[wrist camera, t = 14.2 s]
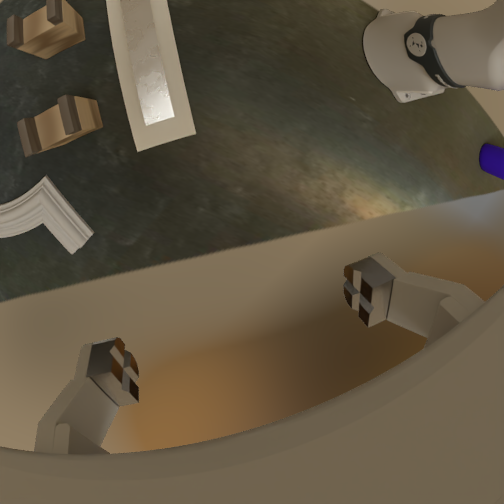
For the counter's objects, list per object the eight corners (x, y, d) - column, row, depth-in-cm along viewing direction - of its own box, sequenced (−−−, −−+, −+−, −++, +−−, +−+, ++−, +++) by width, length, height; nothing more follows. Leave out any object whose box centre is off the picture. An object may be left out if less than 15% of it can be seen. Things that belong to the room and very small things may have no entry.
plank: (160, -32, 20) (160, -35, 19) (195, 133, 34) (196, 133, 33) (105, -16, 19) (104, -18, 18) (138, 151, 33) (137, 151, 32)
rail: (146, -18, 20) (145, -28, 17) (174, 117, 31) (174, 116, 28) (121, -10, 20) (117, -20, 17) (148, 125, 31) (145, 125, 28)
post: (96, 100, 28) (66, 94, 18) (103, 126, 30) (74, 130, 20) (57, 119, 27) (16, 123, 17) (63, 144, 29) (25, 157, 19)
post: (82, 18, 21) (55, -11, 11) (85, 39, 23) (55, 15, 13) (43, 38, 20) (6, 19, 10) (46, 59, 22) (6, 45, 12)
